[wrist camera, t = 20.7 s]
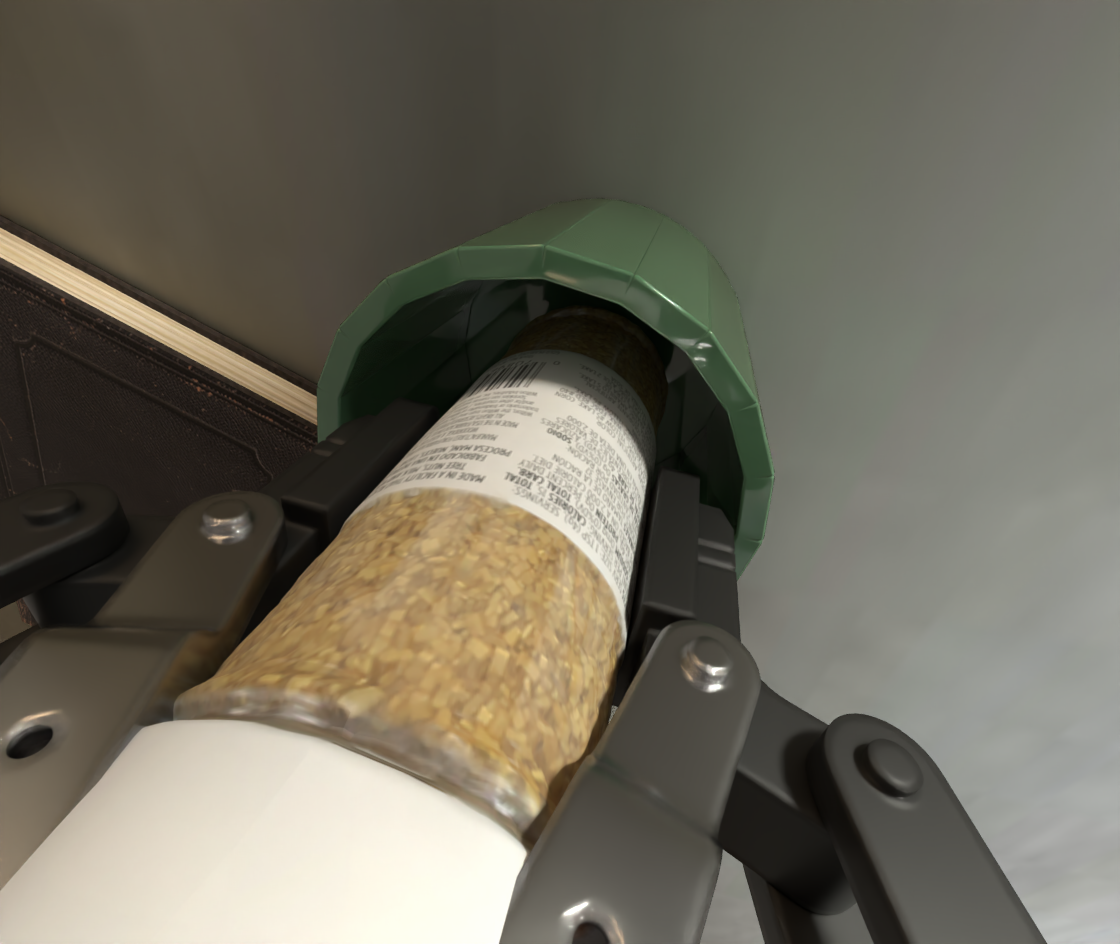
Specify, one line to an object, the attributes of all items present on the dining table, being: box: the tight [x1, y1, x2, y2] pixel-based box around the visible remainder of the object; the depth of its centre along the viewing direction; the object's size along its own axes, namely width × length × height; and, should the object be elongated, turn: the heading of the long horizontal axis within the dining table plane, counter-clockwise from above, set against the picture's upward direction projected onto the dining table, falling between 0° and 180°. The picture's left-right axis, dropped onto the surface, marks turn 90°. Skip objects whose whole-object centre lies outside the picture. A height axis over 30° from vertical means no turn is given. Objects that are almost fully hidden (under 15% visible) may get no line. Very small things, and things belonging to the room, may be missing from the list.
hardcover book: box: [0, 216, 318, 626], centre depth 24 cm, size 16×23×2 cm
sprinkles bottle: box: [0, 305, 668, 944], centre depth 9 cm, size 5×5×14 cm
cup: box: [317, 198, 775, 581], centre depth 13 cm, size 9×9×8 cm
